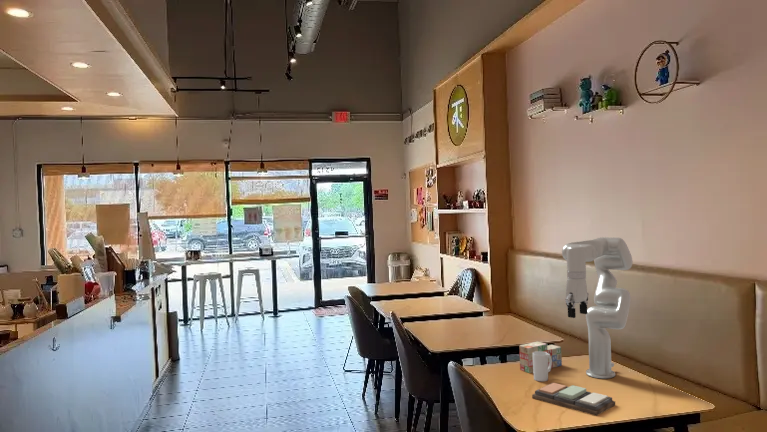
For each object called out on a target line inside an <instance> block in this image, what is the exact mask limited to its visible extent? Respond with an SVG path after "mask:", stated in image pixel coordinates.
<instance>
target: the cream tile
mask: <svg viewBox="0 0 767 432" xmlns="http://www.w3.org/2000/svg"><path fill="white" fill-rule="evenodd" d="M608 397H609V396H608V395H606V394H602V393H598V392H591V394H589V395H588V396H586V397H584V398H582V399H580V402H582V403H586V404H590V405H593V406H595V405H597V404H599V403H601V402H602V401H604V400H606V399H608Z"/></svg>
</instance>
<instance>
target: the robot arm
mask: <svg viewBox="0 0 767 432" xmlns="http://www.w3.org/2000/svg"><path fill="white" fill-rule="evenodd" d="M561 256H562V259H564V260H565V261H566V274H567V275H566V276H567V278H566V283H565V284H566V285H565V298H564V301H565V305H566V308H567V317H568V318H571V319H572V318H573V319H576V314H577V313H576V308H575V307H576V305H577V304H579V314H582V315H585V320H586V325H587V333H588V337H587V338H588V359H589V362H588V363H589V364H588V365H589V367H588V369H586V370H585V373H586V375H587V376H589V377H591V378H595V379H611V378H614V377H616V372H615V371H614V370H612V368H613V367H614V366H615V363H614V362H612V346H611V344H612V343H611V336H610V332H608V330H607V329H612V330H622V329H624V328H625V327H626V324H627V322H628V316H629V313H630V308H631V302H632V301H631V300H632V297H631V293H630V292H629V290H628V289H626V288H621V287H617V285H618V280H617V278H616V277H615V275H614V274H613V273H612V272H611V270H615V271H628V270H630V269H631V268H632V267H633V261H634V260H633V256H632V254H631V251H630V248H629V246H628V245H627V243H626V241H625V240H624V239H623V238H621V237H606V236H605V237H603V236H602V237H597V238H593V239H587V240H581V241H574V242H568V243H566V244H564V245H563V247H562V250H561ZM593 261H594V268H595V270H596V271H595V272H596V274H597V283H596V287H595V292H594V294H593V301H594V302H593V303H594V304H595V305H593V306H589V307H588V300H589V295H590V293H589V292H588V288H587V268H586V267H587V265H586V263H591V262H593Z"/></svg>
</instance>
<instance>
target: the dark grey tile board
mask: <svg viewBox="0 0 767 432" xmlns="http://www.w3.org/2000/svg"><path fill="white" fill-rule="evenodd" d="M552 383H553V382H551V383H550V384H552ZM565 386H566V388H568V387H569V386H568V385H565ZM543 387H544V386H542V387H540V388H539V389H541V388H543ZM566 388H565V389H566ZM539 389H538V388H537V389H536V390H535V391H534V393H532V395H531V397H532V399H535V400H538V401H541V402H545V403H548V404H552V405H557V406H559V407H563V408H566V409H567V408H568V409H571V410H574V411H578V412H582V413H584V414H585V413H586V414H589V415H591V416H596V417H597V416H599V415H601V414H602V413H604V412H606V411H608V410H610V409H611V408H612V407H615V406H616V400H613V397H611V396H608V399H606V400H604V401H602V402H601V403H599V404H597V405H595V406H593V405H590V404H586V403H582V402H580V399H582V398H584V397H586V396H588V395H589V394H591V393H592V392H590V391H587V390H586V393H584V394H582V395H580V396H578V397H576V398H575V399H573V400H572V399H568V398H565V397H561V396H559V392H560V391H559V392H557V393H555V394H553V395H552V394H548V393H544V392H540V391H539ZM563 390H564V389H563ZM561 391H562V390H561Z"/></svg>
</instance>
